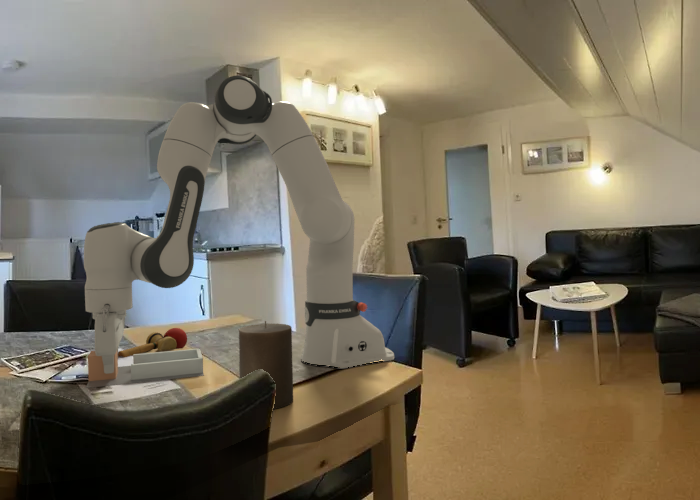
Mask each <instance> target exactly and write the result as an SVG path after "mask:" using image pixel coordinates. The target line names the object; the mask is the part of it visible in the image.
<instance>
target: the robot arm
mask: <svg viewBox="0 0 700 500" xmlns="http://www.w3.org/2000/svg"><path fill="white" fill-rule="evenodd" d="M166 129H167V130H166V132H165V134H164V136H163V140H162V142H161V145H160V148H159V152H158V156H157V162H156V163H157V164H156V170H157V173H158V175H159V176H160V178H161V180H163V182H164V183H165V184H167V186H168V188H169V201H168V204H167V208H166V213H165V216H164V221H163V224H162V228H161V231H160V233H159V234H158V235H157V236H156V237H151V236H149V235H147V234H144V233H143V232H140V231H137V230H135V229H133V228H131V226H129V225H127V223H125V222H122V221H121V222H120V221H117V222H116V221H115V222H111V223H110V222H108V223H103V224H97V225H94V226H91V227H90V228H89V229H88V230H87V231H86V234H85V238H84V245H83V268H84V272H85V275H86V281H85V284H84V301H85V303H84V306H85V312H87V313H92V319H93V320H94V351H95V353H96V356H102V360H103V365H104V373H106V374H108V373H113V372H114V354H116V351H117V355H118V352H119V346H120V343H121V341H122V340H123V339H122V338H123V336H124V333H125V332H124V331H125V325H126V317H127V311H128V310H131V309H132V308H133V307H134V306H133V282H134V281H138V280H139V281H141V282H145V283H149V284H153V285H154V286H157V287H159V288H162V289H173V288H176V287H178V286H180V285H182V284H184V283H185V282H186V281H187V280H188V278H189V277H190V275H191V274H192V273H193V269H194V265H195V264H194V263H195V259H194V258H195V256H194V244H193V243H194V237H195V232H196V228H197V224H198V220H199V215H200V210H201V207H202V202H203V198H204V197H203V196H204V193H205V192H204V191H205V183H206V177H207V174H208V171H209V167H210V165H211V161H212V157H213V154H214V152H215V151H214V150H215V148H216V145H217V144H227V145H228V144H229V145H235V146H236V145H238V146H239V145H245V144H248V143H250V142H251V141H253V140H254V139H255V138H256V136H257V137H259V138H261V140H262V141H263V142H264V143H265V145H266V146H267V148H268V150H269V153H270V155H271V157H272V159H273V161H274V163H275V165H276V167H277V169H278V172H279V174H280V175H281V177H282V179H283V182H284V184H285V186H286V188H287V191H288V194H289V197H290V200H291V203H292V206H293V208H294V211H295V213H296V215H297V218H298V221H299V223H300V225H301V229H302V231H303V232H304V234H305V235H306V237H307V238H309V248H308V257H307V265H306V267H305V268H306V271H305V272H306V300H305V301H304V302H305V303H304V323H305V325H306V326H305V337H304V345H303V350H302V352H301V353H302V354H301V357H300V360H301V359H302V360H303V361H305V362H308V363H312V364H320V365H330V366H335V367H340V368H339V369H348V367H349V368H354V367H353V366H355V367H358V366H357V365H360V366H363V365H362V364H365V363H370V362H374V361H379V360H381V359H382V360H385V361H384V362H388V361H393V360H394V359H395V353H394V352H393V351H392V350H391V349H389V347H386V346H385V339H384V335H383V333H382V331H381V330H380V329H379V328H378V327H376V326H375V325H374V324H373V323H371V322H370V321H369V320H367V319H366V318H365V317H364V316H362V315H361V312H363V313H364V312H366V311H367V309H368V305H367V304H366V303H365V302H362V301H361V302H358V301H357V300H355V299H354V298H353V297H354V295H353V293H354V289H353V288H354V287H353V285H354V283H353V281H354V280H353V278H354V277H353V275H354V274H353V268H354V266H353V265H354V250H355V249H354V246H355V214H354V211H353V210H352V208H351V206H350V205H349V203H347V202H346V201H344V200H343V197H342V196H341V193H340V191H339V189H338V187H337V185H336V182H335V180H334V177H333V175H332V173H331V170H330V166H329V165H328V163H327V160H326V159H325V156H324V154H323V152H322V150H321V149H320V146H319V144H318V142H317V140H316V138H315V136H314V134H313V132H312V131H311V128H310V127H309V125H308V123H307V121H306V120H305V119H304V117H303V115H302V114H301V113H300V111H299V110H298V109H297V107H296V106H295V104H293V103H291V102H289V101H283V100H282V101H281V100H280V101H276V102H273V99H272V97H271V95H270V94H269V93H267V92H266V91H265V90H263V89H262V88H261V87H260V86H259V85H258V83H256V82H255V81H254V80H252V79H251V78H249V77H248V76H244V75H240V74H239V75H231V76H228V77H227V78H225V79H224V80H223V81H221V83H220V84H219V85H218V87H217V89H216V90H215V95H214V103H211V104H203V103H200V102H196V101H195V102H193V101H190V102H185V103H183V104H181V105H180V106H179V108H177V110H176V112H175V113H174V115H173V117H172V119H171V121H170V122H169V125H168V127H167V128H166ZM302 360H301V361H302ZM303 361H302V362H303ZM305 362H304V363H305Z"/></svg>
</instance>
